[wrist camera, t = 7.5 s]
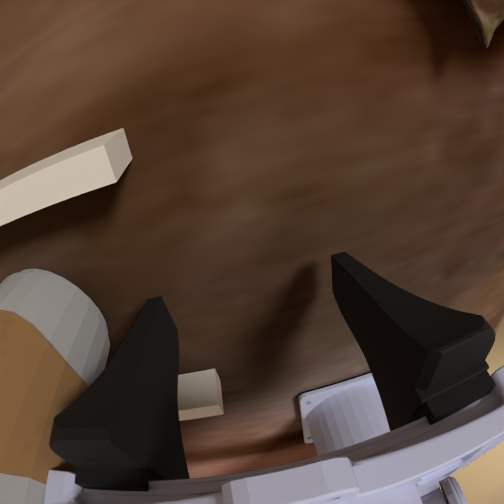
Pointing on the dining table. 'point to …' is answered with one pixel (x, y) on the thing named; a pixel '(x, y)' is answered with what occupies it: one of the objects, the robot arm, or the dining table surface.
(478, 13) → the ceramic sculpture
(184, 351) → the dining table surface
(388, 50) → the dining table surface
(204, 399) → the dock
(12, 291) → the coffee cup
